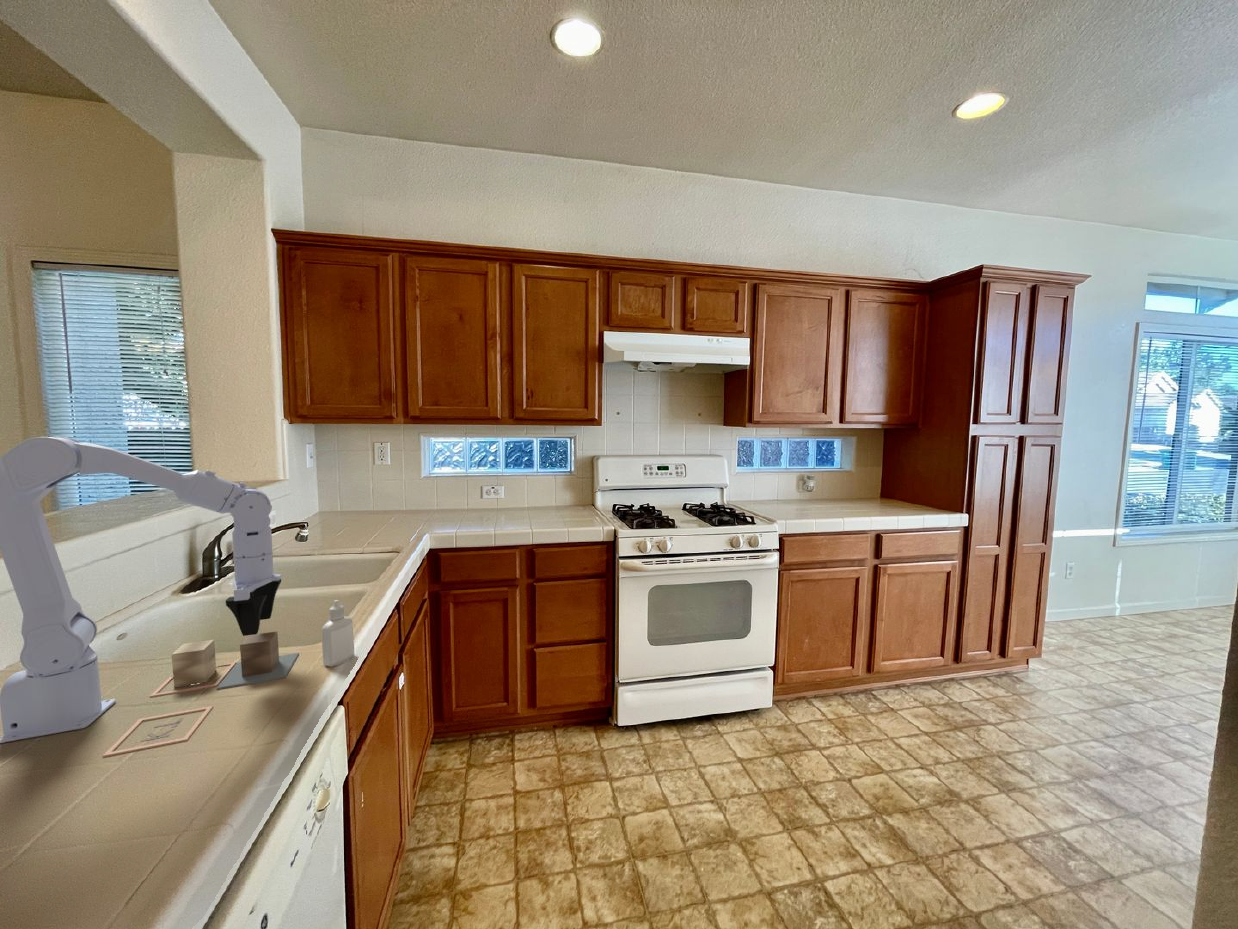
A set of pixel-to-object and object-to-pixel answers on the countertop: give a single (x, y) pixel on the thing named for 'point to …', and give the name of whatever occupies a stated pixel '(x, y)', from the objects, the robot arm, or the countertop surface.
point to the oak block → (193, 663)
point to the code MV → (156, 693)
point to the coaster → (279, 672)
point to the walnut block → (259, 653)
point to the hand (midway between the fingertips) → (257, 626)
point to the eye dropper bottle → (337, 637)
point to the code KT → (188, 735)
